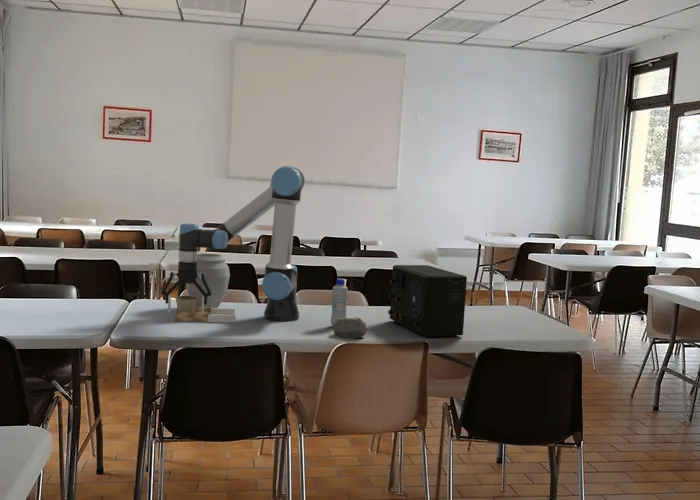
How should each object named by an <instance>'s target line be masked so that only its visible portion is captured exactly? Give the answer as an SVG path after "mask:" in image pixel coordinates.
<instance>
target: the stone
mask: <svg viewBox="0 0 700 500" xmlns="http://www.w3.org/2000/svg"><path fill="white" fill-rule="evenodd" d="M367 332H368V328H367V324H366V322H365V321H363V319H362V318H361V317H346V318H342V319H338V320H337V321H336V323H335V326H334V327H333V333H334V335H335V336H338V337H340V338H341V337H342V338H347V339H348V338H349V339H357V338H362V337H364V336H366V334H367Z"/></svg>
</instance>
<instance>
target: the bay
mask: <svg viewBox="0 0 700 500" xmlns="http://www.w3.org/2000/svg"><path fill="white" fill-rule="evenodd" d="M235 310H236V308H235V307H234V308H233V307H231V308H229V307H222V308H221V307H217V308H211V315H208V322H207V323H228V322H235V323H236V314H235Z"/></svg>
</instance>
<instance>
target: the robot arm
mask: <svg viewBox="0 0 700 500" xmlns="http://www.w3.org/2000/svg"><path fill="white" fill-rule="evenodd" d="M305 181H306V180H305V175H304V174H303V172H302V171H301V170H300V169H298V168H297V167H294V166H291V165H286V166H285V165H284V166H281V167H278V168H277V169H276V170H275V171H274V172H273V174H272V176H271V179H270V184H269V187H268V188H266V189H265V190H264V191H263V192H262V193H260V194H259V195H257V196H256V197H255V198H254V199H252V200H251V201H250V202H249V203H247V204H246V205H245V206H243V207H242V208H241V209H240V210H238V211H237V212H236V213H235V214H233V215H232V216H231V217H229V218H228V219H227V220H226V221H224V222H223V223H222V224H220V225H219V226H218V227H216V228H214V229H202V228H201V229H200V227H199V224H198V223H185V222H183V223H181V224H180V226H179V234H178V238H179V239H178V244H179V245H178V260H179V261H178V263H177V264H178V265H177V272H174V271H171V272H169V273H170V274H169V278H168V280H166V281H167V282H166V284H164V287H163V288H162V289H161V292H160V294H161V295H163V296H165V301H164V303H165V304H167V313H170V312H171V302H172V301H171V300H172V299H171V297H172V295H170V294H172V292H173V291H174V290H175V289H176V288H177V287H178V286H179V285H180V284H186V283H188V284H191V283H193V284H194V285H195V286H196V287H197V288H198V289H199V291H200V292H201V293H202V294H203V296H202V313H204V305H206V304H207V297H208V296H211V294H212V293H211V291H210V289H209V286H208V284H207V282H206V280H205V277H204V273H201V274H197V262H196V261H197V254H198V248H204V249H205V248H206V249H216V250H224V249H227V246H228V244H229V242H230V241H231V240H233V238H235V237H236V236H237V235H239V234H240V233H241V232H243V231H244V230H245V229H246V228H248V227H249V226H250V225H252V224H254V222H256V221H257V220H258V219H259V218H261V217H263V216H264V215H265V214H266V213H267V212H269V211H270V210H272V209H273V208H274V209H273V210H274V211H273V220H272V221H273V223H272V230H271V231H272V234H271V245H270V254H269V255H270V256H269V261H268V262H267V263H266V264H265V267H264V269H265V270H264V277H263V279H262V283H261V289H262V291H263V294H264V295H265V296H266V297H267V298H268V301H267V303H266V306H265V309H264V311H263V318H264V319H267V320H270V321H276V322H277V321H281V322H289V321H297V320H299V319H300V311H299V308H298V304H297V285H298V283H297V282H298V281H297V280H298V268H297V266H296V265H293V264H292V252H293V241H294V232H295V231H294V230H295V222H296V221H295V220H296V212H297V211H296V208H297V205H298V204H299V203H300V202H301V197H302V196H301V195H302V190H303V188H304V186H305ZM198 276H199V278H200V279H202V282H203V284H204V286H205V288H206V290H207V292H208V293H206V292H205V291H204V290H203V289H202V287H201V286H200V285H199V284H198V282H197V281H196V280H195V279H196V278H197V277H198ZM175 277H177V278H178V280H177V281H176V282H175V283H174V284H173V285H172V286H171V287H170V289H168V287H169V286H170V284H171V281H172V280H173V279H174V278H175ZM167 289H168V290H167Z"/></svg>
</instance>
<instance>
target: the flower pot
mask: <svg viewBox="0 0 700 500" xmlns="http://www.w3.org/2000/svg"><path fill="white" fill-rule="evenodd" d="M174 299H175V302H176V306H177V307H176V309H177V308H178V312H195V307H196V302H197V299H198V297H195V296H189V295H178V296H175V297H174Z"/></svg>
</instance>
